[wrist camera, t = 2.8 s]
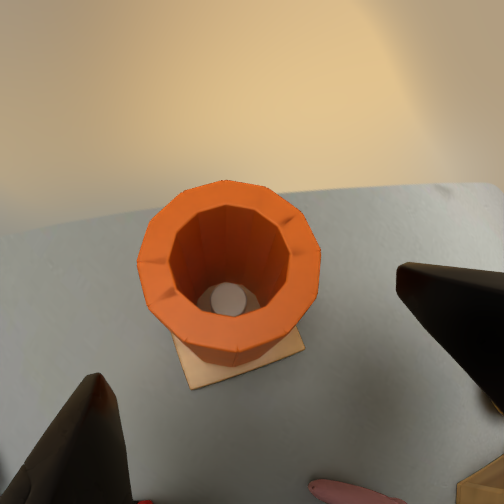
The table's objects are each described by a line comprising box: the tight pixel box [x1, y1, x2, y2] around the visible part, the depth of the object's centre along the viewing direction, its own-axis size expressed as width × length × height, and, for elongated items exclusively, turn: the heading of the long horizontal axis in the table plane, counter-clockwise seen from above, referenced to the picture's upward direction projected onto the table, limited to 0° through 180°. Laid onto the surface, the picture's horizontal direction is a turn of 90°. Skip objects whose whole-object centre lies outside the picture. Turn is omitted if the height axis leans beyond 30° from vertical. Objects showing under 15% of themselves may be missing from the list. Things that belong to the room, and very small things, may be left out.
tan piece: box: [170, 282, 305, 390], centre depth 17 cm, size 7×7×4 cm
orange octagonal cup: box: [137, 180, 321, 367], centre depth 14 cm, size 6×6×8 cm
